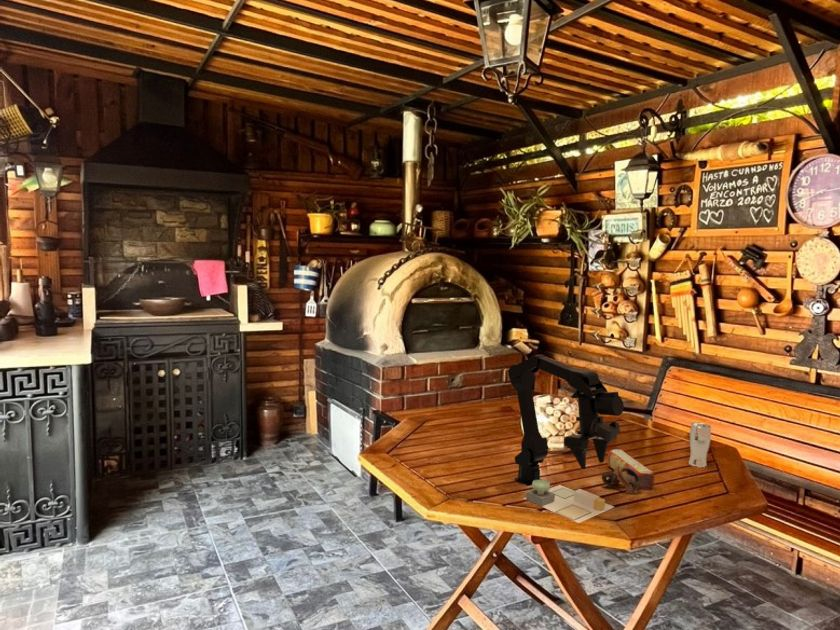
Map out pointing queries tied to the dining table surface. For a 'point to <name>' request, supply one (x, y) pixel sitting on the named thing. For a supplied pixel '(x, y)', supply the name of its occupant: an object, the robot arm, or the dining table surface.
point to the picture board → (571, 505)
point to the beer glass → (699, 443)
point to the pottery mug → (621, 479)
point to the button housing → (540, 497)
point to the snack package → (622, 459)
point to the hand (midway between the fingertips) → (592, 465)
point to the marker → (589, 499)
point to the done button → (540, 486)
